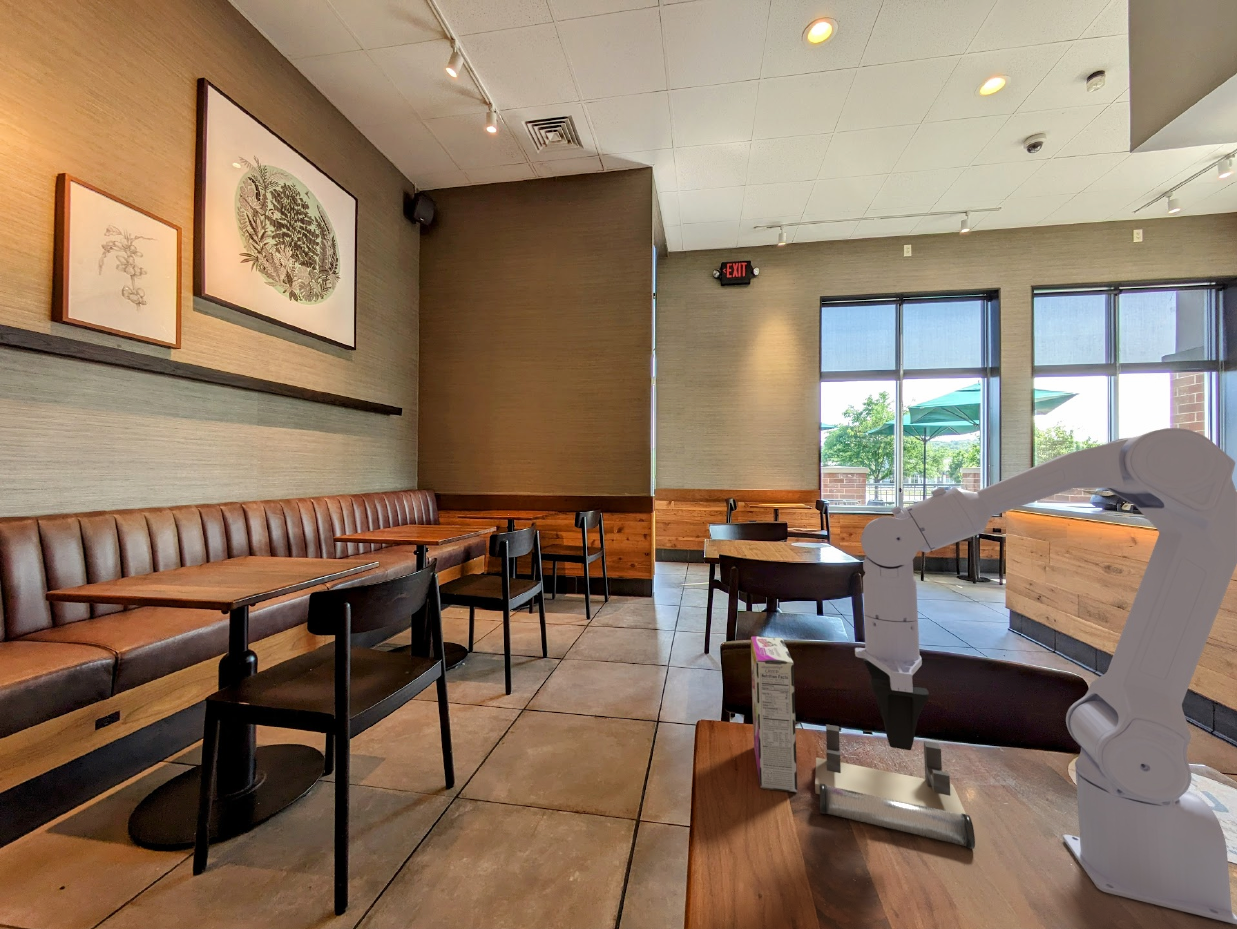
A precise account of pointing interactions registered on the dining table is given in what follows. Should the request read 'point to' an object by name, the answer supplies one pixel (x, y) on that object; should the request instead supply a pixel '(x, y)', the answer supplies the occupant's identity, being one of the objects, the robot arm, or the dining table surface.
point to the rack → (889, 778)
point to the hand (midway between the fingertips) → (895, 732)
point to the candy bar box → (774, 714)
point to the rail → (898, 815)
